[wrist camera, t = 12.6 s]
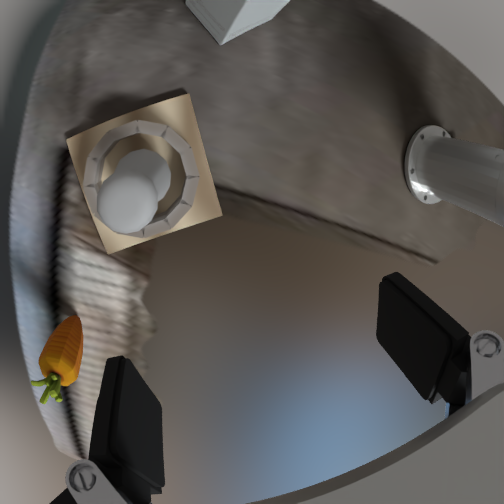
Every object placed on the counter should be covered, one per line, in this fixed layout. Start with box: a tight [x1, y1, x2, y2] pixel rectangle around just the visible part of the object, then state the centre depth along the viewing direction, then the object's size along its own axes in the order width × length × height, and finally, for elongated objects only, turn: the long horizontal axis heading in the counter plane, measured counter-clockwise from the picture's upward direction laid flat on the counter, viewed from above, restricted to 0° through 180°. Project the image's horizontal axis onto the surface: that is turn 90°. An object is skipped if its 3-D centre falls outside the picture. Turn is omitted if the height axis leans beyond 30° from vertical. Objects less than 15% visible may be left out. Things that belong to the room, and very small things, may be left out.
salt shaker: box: [97, 149, 171, 234], centre depth 23 cm, size 6×6×13 cm
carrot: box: [31, 315, 83, 404], centre depth 27 cm, size 5×5×15 cm
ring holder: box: [66, 94, 223, 254], centre depth 28 cm, size 14×14×4 cm
